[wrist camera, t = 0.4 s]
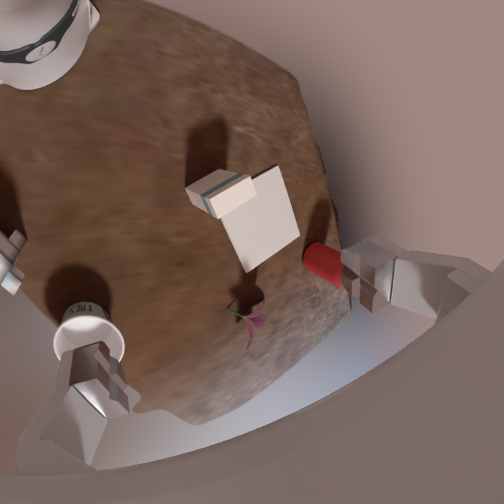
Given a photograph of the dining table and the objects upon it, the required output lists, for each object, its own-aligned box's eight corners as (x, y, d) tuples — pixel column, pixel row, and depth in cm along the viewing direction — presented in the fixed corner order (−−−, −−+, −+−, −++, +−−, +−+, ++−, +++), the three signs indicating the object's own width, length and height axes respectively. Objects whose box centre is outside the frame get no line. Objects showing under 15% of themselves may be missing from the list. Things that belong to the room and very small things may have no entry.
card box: (184, 188, 43) (209, 199, 36) (218, 168, 45) (250, 175, 37) (192, 204, 45) (218, 219, 37) (225, 184, 47) (257, 195, 39)
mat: (212, 201, 47) (213, 202, 47) (277, 165, 51) (278, 165, 51) (245, 272, 56) (246, 273, 55) (298, 234, 60) (300, 235, 59)
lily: (224, 340, 61) (263, 359, 57) (205, 327, 51) (250, 350, 47) (250, 294, 65) (288, 310, 61) (236, 272, 55) (281, 291, 51)
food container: (83, 361, 43) (86, 385, 38) (41, 317, 37) (38, 340, 31) (131, 330, 47) (138, 352, 42) (93, 281, 40) (95, 301, 35)
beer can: (324, 240, 65) (364, 258, 55) (320, 266, 67) (357, 287, 57) (303, 242, 61) (344, 263, 52) (299, 270, 64) (337, 293, 54)
